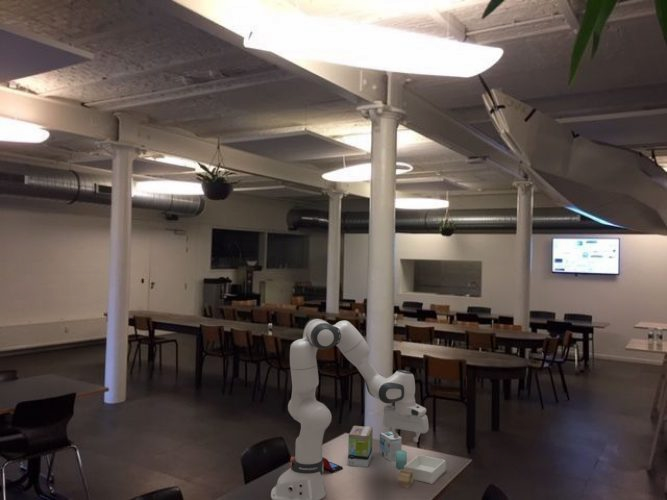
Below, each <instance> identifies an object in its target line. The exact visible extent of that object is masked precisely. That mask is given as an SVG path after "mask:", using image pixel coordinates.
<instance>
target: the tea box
mask: <svg viewBox="0 0 667 500" xmlns="http://www.w3.org/2000/svg"><path fill="white" fill-rule="evenodd" d="M373 436H374V435H373V427H372V426H362V425H353V426H352V428H351V430H350V432H349V433H348V443H347V445H348V447H347V448H348V449H347V450H348V451H347V452H348V454H347V465H348V466H352V467H360V468H361V467H362V468H368V467H369V465H370V462H371V459H372V457H373Z"/></svg>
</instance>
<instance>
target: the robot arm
mask: <svg viewBox="0 0 667 500" xmlns="http://www.w3.org/2000/svg"><path fill="white" fill-rule="evenodd" d="M334 346H336V347H337V348H338V350H339V351H340V352H341V353H342V355H343V356H344V357H345V358H346V360H347V361H349V362H350V363H351V364H352V365H353V366H354V367H356V369H357V371H358V372H359V373H360V374H359V375H361V376H362V378H363V379H364V382H365V387H366V389H367V392H368V393H369V395H370V396H372V397H373V398H375V399H377V400H379V401H380V402H382V403H383V404H387V405H385V406H384V407H383V426H384V427H387V428H389V429H390V431H391V432H392V433H393V437H394V438H398V436H399V433H397V432H396V430H402V431H409V432H414V433H415V435H416V436H414V437H413V442H414V443H418V442H419V437H420V435H421V434H426V433H428V432H429V426H430V425H429V419H428V415H427V414H426V413H427V408H426V407H424V406H422V405H420V404H419V403H416V397H415V394H416V382H415V376H414V374H413V373H412V372H411V371H408V370H404V369H398V370H397V369H396V371H395V372H394V373H393V374H391V376H388V377H385V376H384V375H382V374H380V373H378V371H377V370H376V368H375V367H374V366H373V365H372V363H371V362H370V360H369V355H370V351H371V350H370V347H369V345H368V342H367V341H366V340H365V338H364V337H363V335H362V333H360V332H359V330H358V329H357V328H356V327H355V326H354V325H353V324H352V323H351V322H350V321H348V320H340V321H338V322H336V323H335V324H330V323H329V322H327V320H324V319H321V318H311V319H309V320H308V321H307V322H306V323H305V325H304V327H303V330H302V333H301V335H300V338H299V339H296V340H294V341H293V342H292V343H291V344H290V348H289V367H290V375H291V397H290V400H289V401H288V404H287V411H288V414H290V416H291V417H292V418H293V420H295V421H296V422H298V423H300V431H299V435H298V436H297V438H296V439H295V447H294V448H295V456H291V457H290V465H289V468H288V469H287V470H285V471H284V472H283V473H282V474H281V475H280V476H279V477H278V479H277V483H276V485H274V487H273V488H272V489H271V492H270V498H271V500H322V499H323V498H324V497H326V495H327V492H326V488H325V484H324V477H323V476H324V475H323V473H324V469H323V458H324V457H323V442H324V441H323V440H324V435H325V432H326V430H327V429H328V427H330V424H331V423H332V413H331V411H330V408H328V407H327V405H325V404H324V403H323V402H320V401H319V400H317V398H316V391H317V387H318V386H319V382H320V380H319V372H318V371H319V370H318V363H317V362H318V361H317V353H318V350H327V349H330V348H332V347H334ZM389 404H394V405H389ZM322 457H323V458H322Z"/></svg>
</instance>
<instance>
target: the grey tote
mask: <svg viewBox="0 0 667 500" xmlns="http://www.w3.org/2000/svg"><path fill="white" fill-rule="evenodd" d="M446 465H447V460H446V459H442V458H437V457H432V456H427V455H423V454H418V455H416V456H415V457H413V459H411V460H410V461H408V462H407V464H406V465H405V466H404V469H403V470H407V471H411V472H413V481H416V482H421V483H424V482H425V483H426V484H428V483H429V485H433V484H434V483H435V482H436V481H437V480H438V479H439V478H441V477H442V475H443V474H444V473H446V470H447V466H446ZM425 483H424V484H425Z"/></svg>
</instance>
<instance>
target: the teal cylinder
mask: <svg viewBox="0 0 667 500" xmlns="http://www.w3.org/2000/svg"><path fill="white" fill-rule="evenodd" d="M407 456H408V454H407V451H406V450H403V449H402V450H398V451H396V460H395V468H396V469H397V470H404V466H405V465H406V464H407V463H408V462H407V461H408V460H407V459H408V457H407Z"/></svg>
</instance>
